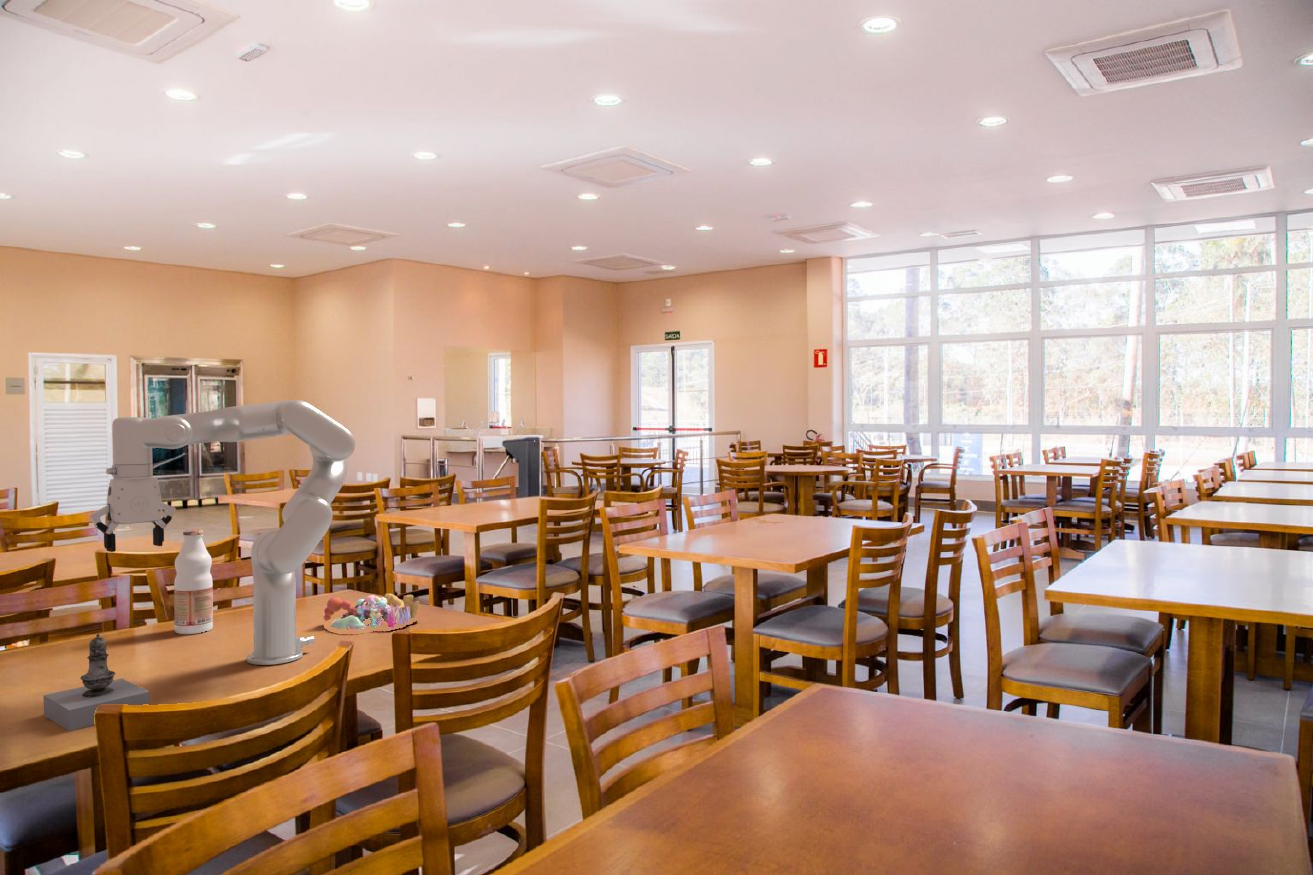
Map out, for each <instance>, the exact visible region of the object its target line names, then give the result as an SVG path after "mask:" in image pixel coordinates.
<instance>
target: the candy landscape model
mask: <svg viewBox="0 0 1313 875" xmlns="http://www.w3.org/2000/svg"><path fill="white" fill-rule="evenodd" d="M413 599H414V595H413V594H407V595H403V600H402V599H400V598H398V596H396V595H395V594H393V593H385V594H384V596H383V597H379V596H377V595H375V594H372V595H371V594H370V595H368V596H366V597H365V599H364V598H359V599H358V600H356V603H355V606H351V605H352V602H350V601H349V600H343V601H342V599H340V597H337V596H336V597H334V596H333V597H331V598H329V599H328V601H327V603H326V606H327V607H325V608H324V611H323V612H324V615H323V619H324V620H325V621H328V620H329V621H331V618H332V616H333V615H334V614H335V612H339V611H340V610H341V609H342V610H343V611H344V610H346V611H347V612H345V613H342V616H341V617H340V618H336V619H337V620H336V619H333V620H334V621H333V622H332V623H333V624H331V626H330V627H333V628H337V629H347V630H349V629H353V630H354V629H358V630H360V629H364V628H366V624H365V623H363V621H365V619H368V618H371V619H370V620H371V623H370V625H371V627H372V628H374V627H376V624H377V626H380V625H383V623H382V620H380V619H381V617H382V618H383V619H384V621H386V622H387V623H388V627H393V628H394V626H396V625H395V624H397V625H399V624H400V625H401V624H404V623H405V621H406V623H407V622H409V619H411V618H416V617H415V616H416V615H417V614H418V611H419V607H420V606H419V605H420V601H419V600H416V601H413ZM382 615H383V616H382ZM378 619H379V620H378ZM376 621H377V622H376ZM397 621H398V623H397ZM367 626H369V624H368V625H367Z"/></svg>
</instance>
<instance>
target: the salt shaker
mask: <svg viewBox="0 0 1313 875" xmlns="http://www.w3.org/2000/svg"><path fill="white" fill-rule="evenodd" d="M95 636H96V637H94V638H92V639H91V640H90V641H89V648H88V649H89V653H88V656H87V657H86V659H88V669H87V670H88V671H87V672H86V673H85V674H83V675H81V676H80V680H81V682H82V684H83V687H84V686H85V687H86V688H88V689H90V690H87V691H86V692H84V693H83V694H82V696H84V697H99V696H104V695H108V694H110V693H112V692H114V689H112V688H109V687H107V686H109V685H110V684H111V683H112V681H113V680H114V678H115V675H116V674H117V673H116V671H114V670H110V669H109V668H108V657H109V654H108V653H107V640H106V639H105V638H104V637H101V634H99V633H98V632H97V634H96V635H95Z"/></svg>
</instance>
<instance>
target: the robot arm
mask: <svg viewBox="0 0 1313 875" xmlns="http://www.w3.org/2000/svg"><path fill="white" fill-rule="evenodd" d="M111 431H112V432H111V434H112V435H111V436H112V440H111V441H112V460H113V461H112V465H111V467H109V468H108V467H107V468H106V469H105V472H106V474H107V475H111V477H112V478H110V479H109V483H108V488H107V493H106V494H107V495H106V505H105V506H103V507H101V508H100V509H98V510H96V511H95V512H92V513H90V514H89V516H88V517H89V519H90V520H91V522H92V524H93V526H94V527H95V528H96V529H98V530H99V532H101V533H102V534H103V547H104V549H105V550H106V552H110V553H115V552H116V550H117V549H116V548H117V545H116V543H117V542H116V534H115V533H114V531H115V530H116V529H117V527H118V526H119V525H133V524H141V523H152V525H153V526H154V527H153V528H152V544H153V546H156V547H163V545H164V544H163V543H164V542H165V529H166V527H167V525H168V524H169V523H170V522H172V520H173V519H172V518H173V516H174V515H175V513H176V511H177V508H176V507H174V506H172V505H170V504H167V503H164V502H163V501H162V494H161V488H160V484H159V479H158V477H155V476H154V474H153V473H154V472H153V471H154V469H153V468H154V467H153V465H154V464H153V448H156V449H157V448H158V449H160V448H161V449H168V450H175V449H180V448H183V447H184V446H188V445H196V444H205V443H219V442H223V443H237V442H238V443H239V442H246V441H252V440H260V439H267V438H275V437H282V436H290V435H293V436H295V437H296V438H297V439H299V440H300V441H301V442H303V443H304V444H306V445H307V446H308V447H309V450H310V453H311V455H312V466H311V469H310V471H309V472H308V475H307V476H306V478H305V479H304V480H303V482H302V483H301V484H300V486H299V487H298V488H297V490H296V491H295V492H294V493H293V495H292V496H291V497H290V499H289V500H288V501H287V502H286V503H285V505H284V506H283V509H282V513H281V518H282V521H283V524H282V525H281V527H280V528H279V529H269V530H266V531H264V532H262V533H259V535H258V536H257V537H256V538H255V539H254V541H253V543H252V546H251V550H250V559H251V560H250V561H251V568H252V578H253V581H252V582H253V586H252V587H253V597H252V599H253V600H252V601H253V604H252V605H253V651H252V652H250V653H248V654H247V655H246V662H247V663H248V664H252V665H260V666H269V665H272V666H273V665H281V664H285V663H290V662H294V661H296V660H298V659H301V658H302V656H303V655H304V653H303V649H302V648H303V647H304V646H309V645H314V644H315V642H316V640H315V637H314V636H307V637H304V636H300V637H299V636H297V622H296V621H297V616H296V615H297V613H296V610H297V608H296V607H297V606H296V605H297V601H296V600H297V598H296V596H297V584H296V583H297V580H296V570H298V569H300V568H301V567H302V566H303V564H304V563H306V561H307V560H308V558H309V557H310V555H311V554H312V552H314V550H315V549H316V547H317V546H318V545H319V544H320V542H321V541H322V539H323V538H324V537H325V535H326V534H327V532H328V530H329V528H330V527H331V524H332V521H333V519H334V518H333V517H334V515H333V512H334V511H333V509H332V506H331V504H332V502H333V501H334V499H335V497H336V496H337V495H338V493H339V492H340V490H341V489H342V487H343V485H344V482H345V481H346V478H347V470H348V467H347V466H348V465H347V464H348V463H347V462H348V460H347V459H349V457H351V455H353V453H354V451H355V448H356V441H355V440H356V439H355V437H354V436H353V434H352V433H351V431H350V430H348V429H347V428H346V427H344V426H343V425H342V424H340V423H339V422H337V421H336V420H334V419H333V418H331V417H330V416H328V415H327V414H325V413H324V412H323V411H321V410H320V409H319V408H317V407H315V406H314V405H312V404H310V403H309V402H306V401H305V400H301V399H293V400H292V399H291V400H290V399H289V400H279V401H270V402H269V401H268V402H264V403H263V402H262V403H254V404H252V403H251V404H245V405H244V404H243V405H236V406H228V407H223V408H219V409H214V410H207V411H199V412H198V411H197V412H191V413H190V412H189V413H183V414H182V413H181V414H180V413H179V414H172V415H162V416H159V417H150V418H148V417H143V416H142V417H141V416H140V417H139V416H125V417H123V416H121V417H117V418H115V419H113V421H112V424H111ZM163 510H164V511H165V515H163ZM103 516H106V520H107V522H106V523H103V522H102V520H101V517H103Z"/></svg>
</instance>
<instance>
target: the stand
mask: <svg viewBox="0 0 1313 875" xmlns="http://www.w3.org/2000/svg"><path fill="white" fill-rule="evenodd" d="M107 687H109V688H112V689H114V692H112V693H110V694H108V695H104V696H99V697H84V696H82V694H83V693H84V692H86V691H87V690H90V689H88V688H86V687H85V686H84V685H83V686H81V687H76V688H75V687H74V688H71V689H67V690H61V691H58V692H57V691H56V692H51V693H48V694H43V716H44V717H45V718H47V719H48V720H51V721H53V722H54V723H55V724H57V725H58V726H61V728H64V729H65V730H67V731H68V732H72V731H75V730H80V729H83V728H88V727H92V726H95V725H94V713H95V710H96V708H97V707H98V706H99V705H101V704H128V705H143V704H150V705H151V691H149V690H148V689H145V688H144V687H141V686H139V685H137V684H134V683H133V682H130V681H128V680H126V679H124V678H117V679H113V681H112V683H111V684H110V685H109V686H107Z"/></svg>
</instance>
